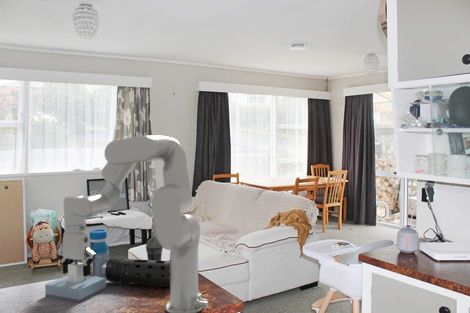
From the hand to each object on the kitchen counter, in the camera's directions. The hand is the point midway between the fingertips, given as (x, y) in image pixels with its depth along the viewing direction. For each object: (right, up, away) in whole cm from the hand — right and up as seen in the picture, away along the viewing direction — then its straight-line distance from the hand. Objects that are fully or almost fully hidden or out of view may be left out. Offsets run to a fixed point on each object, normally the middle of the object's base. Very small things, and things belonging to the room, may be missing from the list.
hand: (76, 274), depth 154 cm
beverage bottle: (+3, -7, +16) cm, 18 cm away
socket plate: (0, -7, 0) cm, 7 cm away
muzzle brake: (+21, -7, +9) cm, 24 cm away
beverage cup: (+25, -7, +23) cm, 34 cm away
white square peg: (0, -6, 0) cm, 6 cm away
